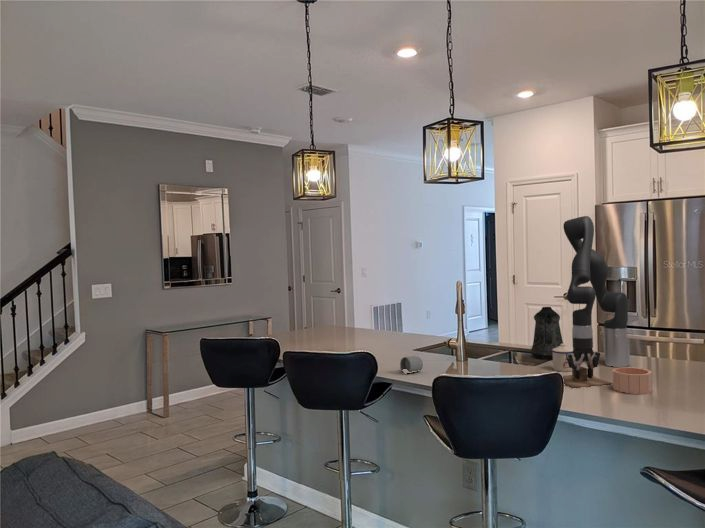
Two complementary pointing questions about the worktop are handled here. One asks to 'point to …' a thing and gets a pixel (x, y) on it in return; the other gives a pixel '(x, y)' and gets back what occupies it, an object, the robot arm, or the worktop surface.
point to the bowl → (632, 380)
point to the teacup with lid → (561, 358)
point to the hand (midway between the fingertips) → (583, 378)
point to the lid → (583, 380)
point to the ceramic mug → (411, 363)
